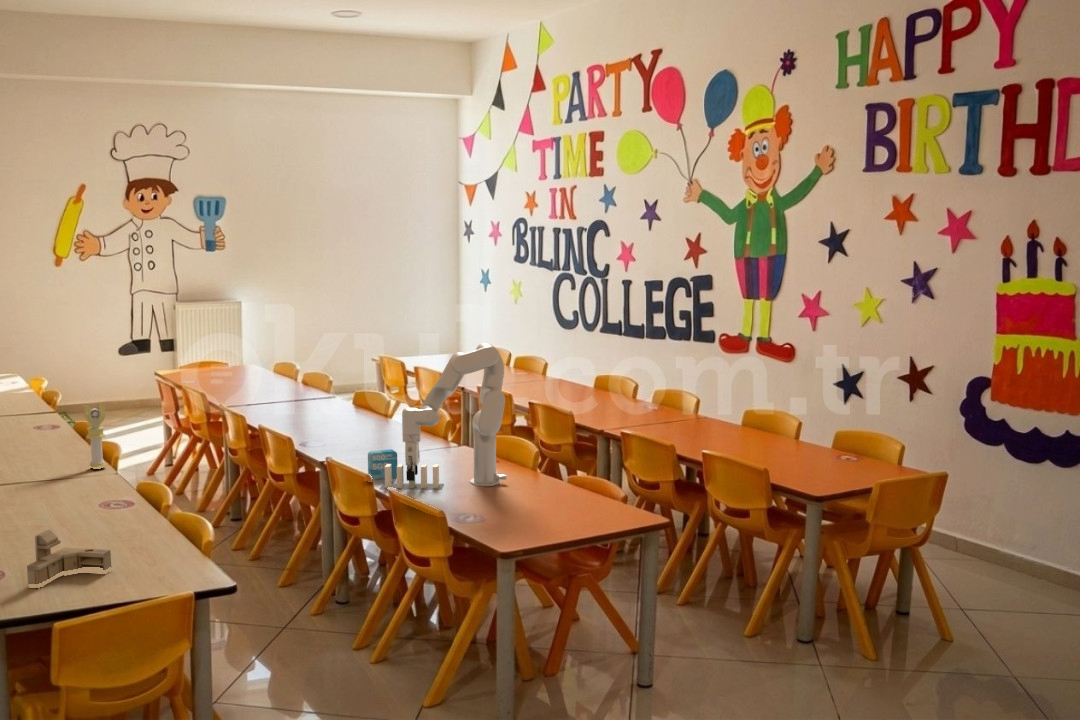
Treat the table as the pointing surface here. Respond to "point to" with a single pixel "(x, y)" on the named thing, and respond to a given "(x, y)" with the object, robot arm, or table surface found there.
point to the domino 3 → (412, 483)
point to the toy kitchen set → (62, 558)
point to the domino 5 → (435, 475)
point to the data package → (381, 463)
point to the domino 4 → (424, 476)
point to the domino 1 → (388, 476)
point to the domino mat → (417, 487)
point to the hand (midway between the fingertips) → (412, 477)
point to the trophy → (95, 432)
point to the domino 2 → (400, 476)
